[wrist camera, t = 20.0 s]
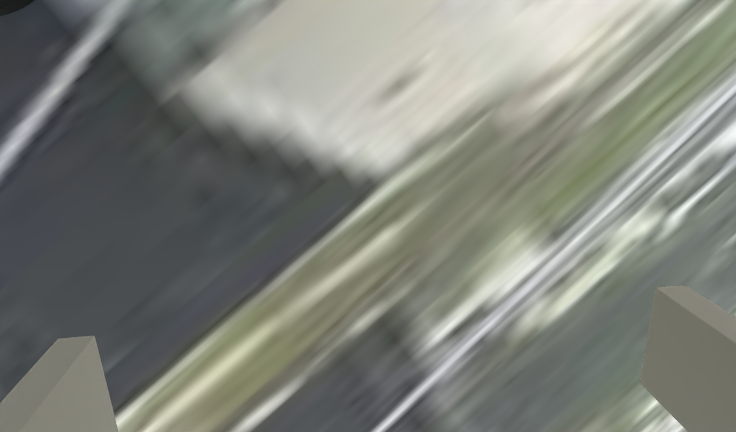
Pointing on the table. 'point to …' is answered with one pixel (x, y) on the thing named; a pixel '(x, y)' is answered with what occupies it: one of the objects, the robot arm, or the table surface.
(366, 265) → the table surface
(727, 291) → the table surface
